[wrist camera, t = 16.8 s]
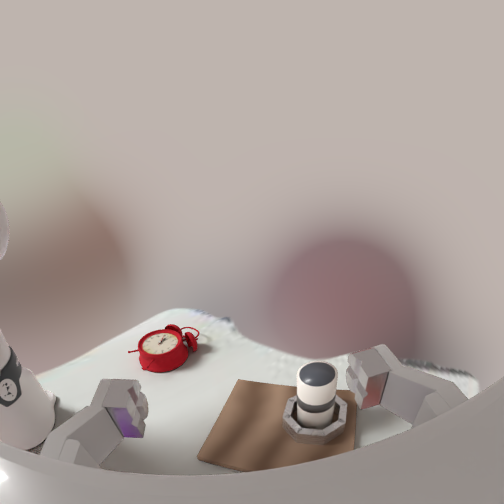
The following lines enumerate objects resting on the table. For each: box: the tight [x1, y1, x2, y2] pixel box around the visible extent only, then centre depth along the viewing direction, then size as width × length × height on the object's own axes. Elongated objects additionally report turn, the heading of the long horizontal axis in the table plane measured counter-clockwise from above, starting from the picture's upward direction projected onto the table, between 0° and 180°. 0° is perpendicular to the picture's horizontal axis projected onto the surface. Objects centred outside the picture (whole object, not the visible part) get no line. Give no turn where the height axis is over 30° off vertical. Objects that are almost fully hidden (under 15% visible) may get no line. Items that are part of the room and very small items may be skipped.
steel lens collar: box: [282, 395, 347, 445], centre depth 35 cm, size 9×9×2 cm
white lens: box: [297, 361, 338, 430], centre depth 34 cm, size 5×5×10 cm
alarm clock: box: [128, 324, 199, 372], centre depth 55 cm, size 10×6×15 cm
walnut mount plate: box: [197, 379, 357, 472], centre depth 35 cm, size 20×17×1 cm
